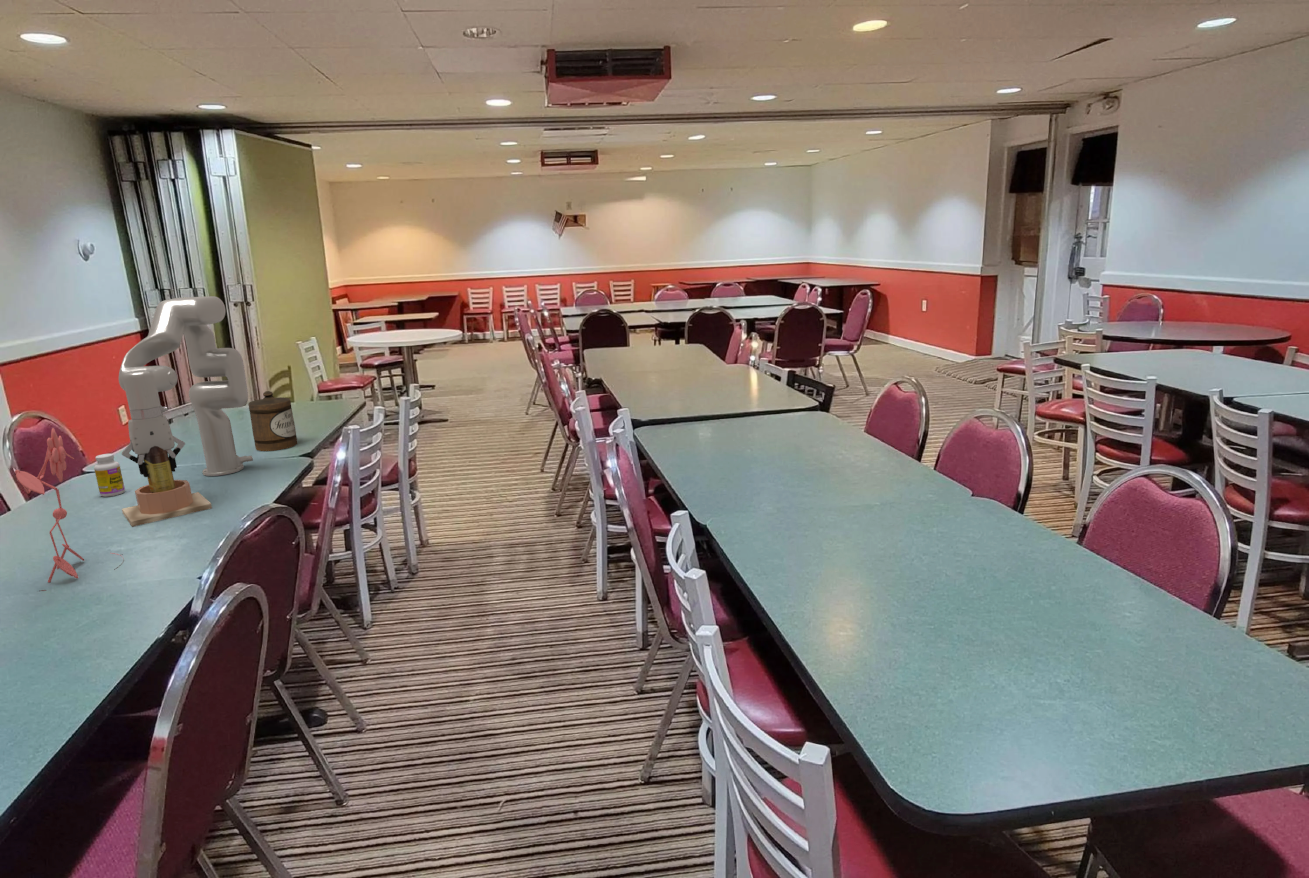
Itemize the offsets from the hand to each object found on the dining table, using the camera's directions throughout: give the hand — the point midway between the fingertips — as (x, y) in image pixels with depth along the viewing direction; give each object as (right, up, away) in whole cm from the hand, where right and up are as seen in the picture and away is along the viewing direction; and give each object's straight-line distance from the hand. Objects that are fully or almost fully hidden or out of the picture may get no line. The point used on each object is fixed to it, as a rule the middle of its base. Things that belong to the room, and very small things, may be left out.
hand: (159, 473), depth 218 cm
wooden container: (-3, +7, +74) cm, 74 cm away
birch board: (+1, -11, +3) cm, 12 cm away
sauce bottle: (0, -7, +2) cm, 7 cm away
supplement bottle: (-29, -8, +22) cm, 37 cm away
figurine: (+7, -22, -37) cm, 44 cm away
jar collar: (0, -10, +3) cm, 10 cm away
